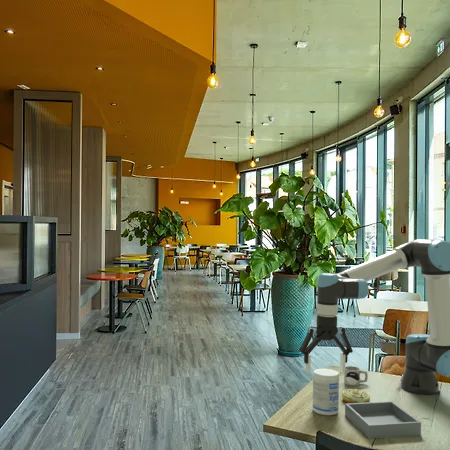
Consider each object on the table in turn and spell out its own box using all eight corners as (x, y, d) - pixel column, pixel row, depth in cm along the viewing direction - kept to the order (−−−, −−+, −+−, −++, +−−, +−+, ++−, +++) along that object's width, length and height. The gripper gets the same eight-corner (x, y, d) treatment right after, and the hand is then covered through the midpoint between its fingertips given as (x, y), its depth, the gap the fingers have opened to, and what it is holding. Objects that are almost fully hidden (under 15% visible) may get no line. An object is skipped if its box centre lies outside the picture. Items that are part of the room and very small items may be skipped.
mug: (345, 385, 204) (345, 370, 204) (343, 380, 210) (343, 365, 210) (368, 387, 203) (369, 371, 203) (366, 381, 209) (366, 367, 209)
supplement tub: (334, 418, 169) (335, 377, 169) (309, 413, 174) (309, 373, 174) (341, 409, 178) (342, 370, 178) (317, 404, 182) (317, 366, 182)
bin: (391, 412, 175) (392, 401, 175) (420, 435, 157) (421, 422, 157) (345, 415, 172) (345, 403, 172) (369, 438, 154) (369, 425, 154)
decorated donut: (364, 409, 179) (365, 399, 179) (337, 402, 185) (338, 392, 185) (373, 400, 187) (373, 391, 187) (347, 394, 194) (347, 385, 194)
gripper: (353, 312, 181) (352, 367, 181) (291, 313, 177) (290, 369, 177) (362, 316, 174) (361, 373, 174) (298, 317, 170) (296, 375, 170)
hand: (325, 371), depth 175 cm, fingers open, 13 cm apart
